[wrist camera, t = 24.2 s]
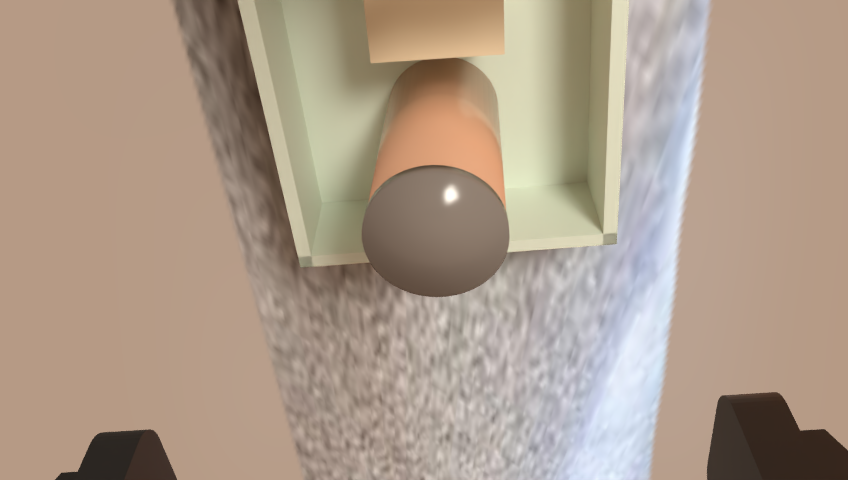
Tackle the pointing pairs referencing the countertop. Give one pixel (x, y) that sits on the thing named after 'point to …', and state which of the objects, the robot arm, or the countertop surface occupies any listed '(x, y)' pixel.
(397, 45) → the maple block
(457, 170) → the spice jar
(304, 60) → the tote
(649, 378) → the countertop surface
